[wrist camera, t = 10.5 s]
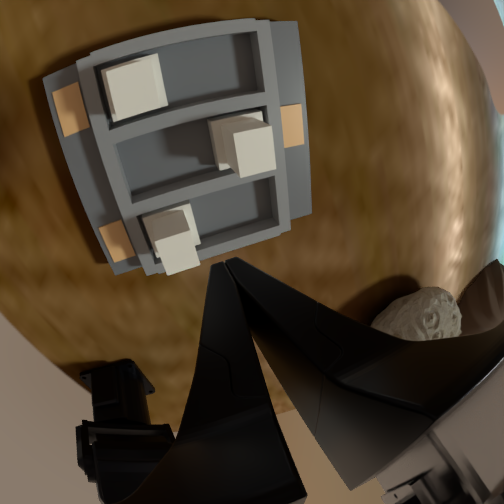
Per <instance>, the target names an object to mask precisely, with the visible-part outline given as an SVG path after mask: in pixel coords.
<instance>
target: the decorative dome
mask: <svg viewBox="0 0 504 504" xmlns="http://www.w3.org/2000/svg"><path fill="white" fill-rule="evenodd" d="M458 308H459V310H460V313H461V315H462V318H461V326H460V330H461V331H462V333H461V334H460V335H459V336H464V335H471V334H477V333H482V332H485V331H488V330H491V329H493V328H495V327H496V326H497V325H499V324H500V323H501V322H502V321H503V320H504V265H502V264H500V263H499V261H498V259H496V260H495V261H494V262H493V263H492V264H491V265H490V266H488V267H485V268H484V269H483V270H482V272H481V273H480V275H479V276H478V278H477V279H476V281H475V282H474V283H473V284H472V285H471V286H470V287H469V288H468V289H467V290H466V291H465V293H464V295H463V298H462V300H461V302H460V303H459V305H458Z"/></svg>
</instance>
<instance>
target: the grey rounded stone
mask: <svg viewBox="0 0 504 504" xmlns="http://www.w3.org/2000/svg"><path fill="white" fill-rule="evenodd" d="M461 318H462V315H461V313H460V310H459V308H458V306H457V303H456V301H455V298H454V297H453V296H452V295H451V293H450V292H448V291H446V290H444V289H441V288H439V287H425V288H421V289H420V290H419V291H417V292H415V293H413V294H410V295H407V296H404V297H401V298H398V299H396V300H394V301H393V302H392V303H391V304H390V305H389V306H388V307H387V308H386V309H385V310H383V311H382V312H381V313H380V314H378V315H377V316H376V318H375V319H374V320H373V322H372V324H371V326H370V327H373V328H375V329H378V330H380V331H383V332H385V333H388V334H390V335H393V336H395V337H398V338H401V339H405V340H411V341H424V340H433V339H442V338H450V337H457V336H459V335H460V334H461V333H462V331H461V330H460V326H461Z"/></svg>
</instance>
